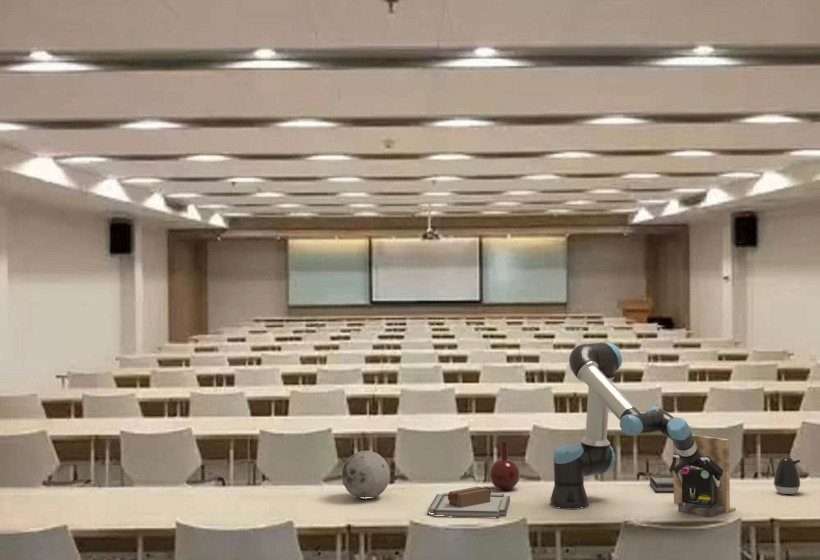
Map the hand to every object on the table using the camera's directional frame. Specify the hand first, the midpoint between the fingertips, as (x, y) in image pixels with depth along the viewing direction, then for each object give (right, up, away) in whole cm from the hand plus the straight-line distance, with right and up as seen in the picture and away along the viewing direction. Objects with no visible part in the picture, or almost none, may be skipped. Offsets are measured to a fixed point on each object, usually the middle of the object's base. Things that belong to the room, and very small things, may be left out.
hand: (701, 482), depth 388 cm
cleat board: (0, -11, +4) cm, 12 cm away
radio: (+3, -11, +41) cm, 43 cm away
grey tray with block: (-88, -14, +12) cm, 90 cm away
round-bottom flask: (-71, -13, +45) cm, 85 cm away
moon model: (-131, -14, +33) cm, 135 cm away
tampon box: (-1, -9, -2) cm, 9 cm away
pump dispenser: (+43, -10, +27) cm, 52 cm away
